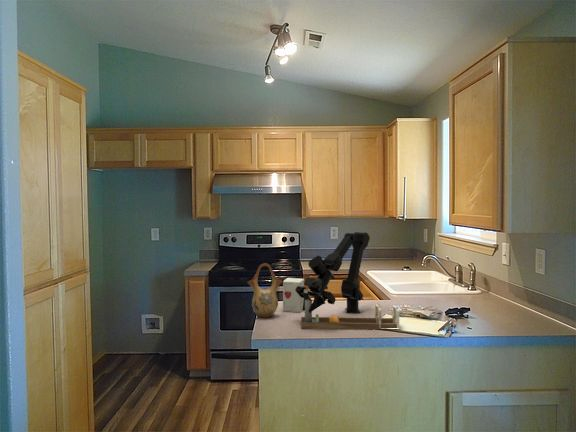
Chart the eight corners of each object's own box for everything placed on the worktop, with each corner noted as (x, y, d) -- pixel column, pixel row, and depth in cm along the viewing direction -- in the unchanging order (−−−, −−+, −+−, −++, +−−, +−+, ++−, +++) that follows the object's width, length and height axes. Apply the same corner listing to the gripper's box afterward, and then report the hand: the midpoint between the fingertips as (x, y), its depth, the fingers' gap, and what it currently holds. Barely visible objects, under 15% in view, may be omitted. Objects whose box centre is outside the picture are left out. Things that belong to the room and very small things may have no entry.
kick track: (301, 322, 171) (301, 303, 170) (394, 323, 169) (394, 304, 169) (301, 328, 162) (301, 308, 162) (399, 329, 161) (399, 309, 161)
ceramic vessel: (247, 319, 175) (247, 265, 174) (247, 314, 184) (247, 262, 183) (283, 318, 176) (283, 264, 175) (281, 313, 185) (281, 261, 184)
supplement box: (282, 311, 188) (282, 281, 188) (286, 306, 197) (286, 277, 196) (300, 312, 186) (300, 281, 186) (304, 307, 195) (304, 278, 194)
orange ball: (328, 324, 168) (328, 314, 168) (338, 324, 168) (338, 314, 168) (329, 327, 164) (329, 317, 164) (339, 327, 164) (339, 317, 164)
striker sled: (304, 323, 169) (304, 297, 169) (318, 323, 169) (318, 298, 168) (304, 327, 164) (304, 301, 163) (319, 327, 163) (319, 301, 163)
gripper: (297, 268, 173) (281, 296, 165) (331, 273, 161) (315, 304, 153) (308, 282, 179) (293, 311, 172) (342, 288, 167) (327, 319, 159)
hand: (306, 311), depth 164 cm, fingers closed on striker sled, 3 cm apart
